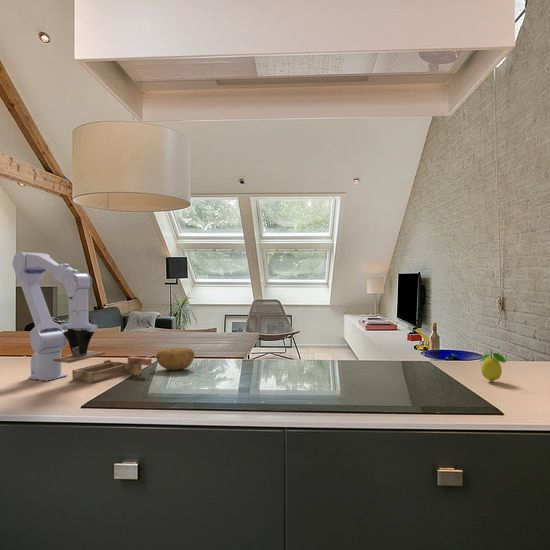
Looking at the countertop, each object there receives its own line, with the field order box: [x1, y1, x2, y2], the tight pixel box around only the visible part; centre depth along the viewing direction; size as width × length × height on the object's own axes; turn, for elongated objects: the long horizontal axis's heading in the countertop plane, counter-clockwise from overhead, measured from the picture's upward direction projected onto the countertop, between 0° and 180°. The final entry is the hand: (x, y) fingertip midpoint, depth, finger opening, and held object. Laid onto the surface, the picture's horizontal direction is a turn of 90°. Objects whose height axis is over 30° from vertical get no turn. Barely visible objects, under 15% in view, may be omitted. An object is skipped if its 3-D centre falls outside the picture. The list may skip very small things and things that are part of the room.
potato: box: [155, 346, 196, 371], centre depth 148 cm, size 10×14×8 cm
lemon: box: [479, 350, 507, 383], centre depth 126 cm, size 7×6×10 cm
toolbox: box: [71, 359, 143, 384], centre depth 139 cm, size 16×16×4 cm
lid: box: [53, 346, 106, 364], centre depth 132 cm, size 7×13×3 cm, turn 155°
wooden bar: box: [127, 356, 152, 366], centre depth 141 cm, size 9×2×2 cm, turn 64°
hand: (79, 353), depth 132 cm, fingers closed on lid, 3 cm apart
